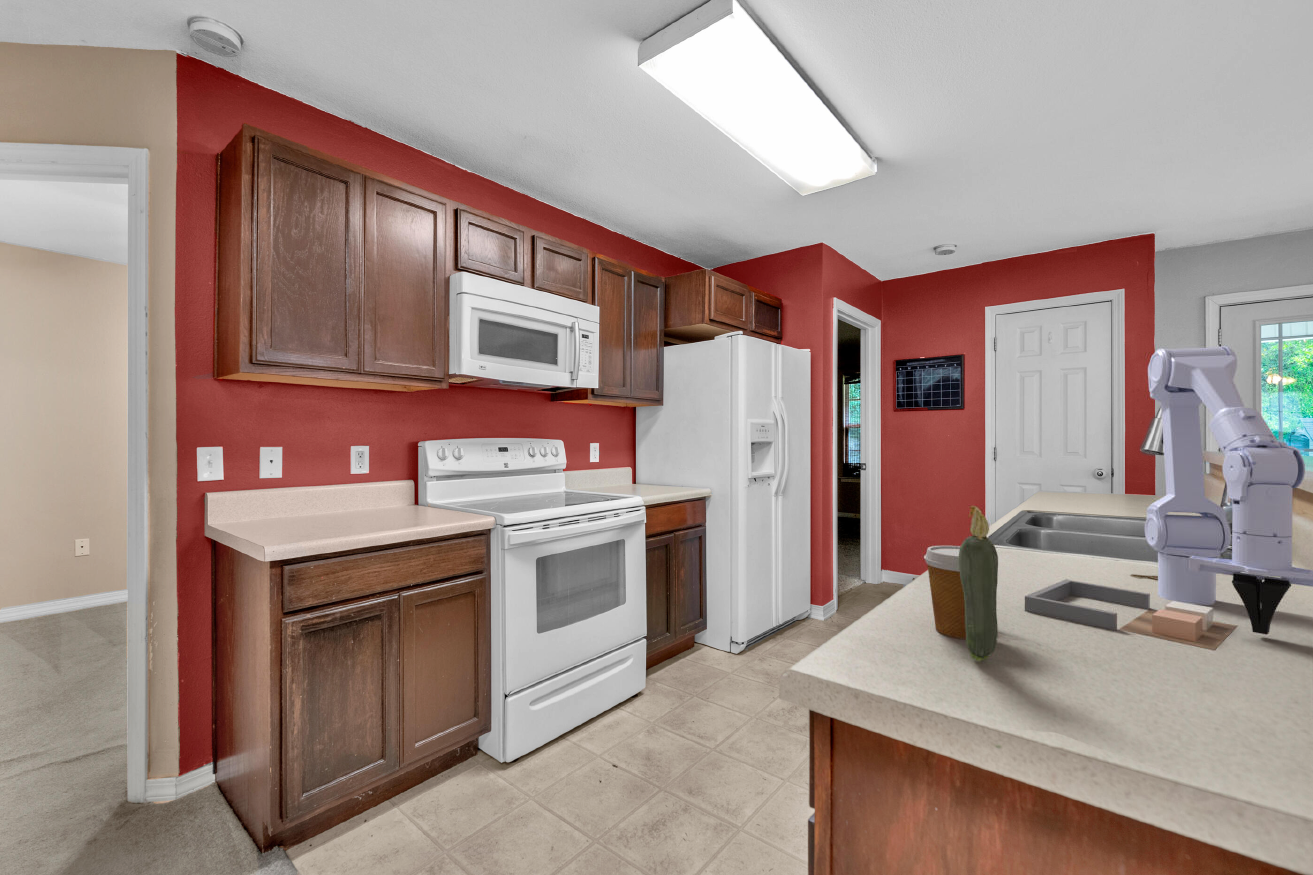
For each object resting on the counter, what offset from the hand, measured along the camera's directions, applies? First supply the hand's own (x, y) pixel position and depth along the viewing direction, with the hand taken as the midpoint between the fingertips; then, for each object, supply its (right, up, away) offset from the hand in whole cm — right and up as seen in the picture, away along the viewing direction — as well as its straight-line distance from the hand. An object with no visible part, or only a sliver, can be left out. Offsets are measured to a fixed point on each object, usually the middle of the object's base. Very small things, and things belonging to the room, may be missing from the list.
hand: (1260, 631), depth 79 cm
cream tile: (-4, -1, +6) cm, 7 cm away
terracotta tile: (-10, -1, +2) cm, 10 cm away
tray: (-14, -2, +13) cm, 19 cm away
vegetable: (-42, -2, -6) cm, 43 cm away
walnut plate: (-8, -2, +4) cm, 9 cm away
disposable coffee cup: (-39, -2, +6) cm, 39 cm away
